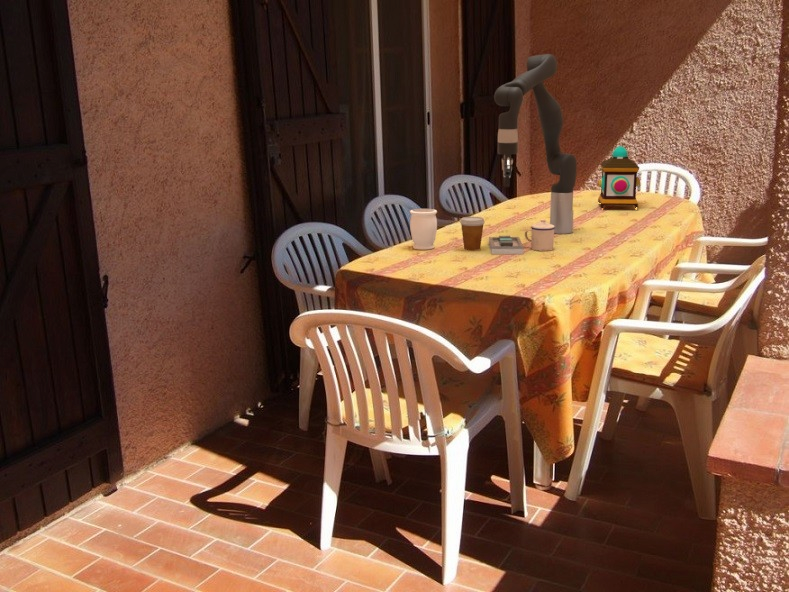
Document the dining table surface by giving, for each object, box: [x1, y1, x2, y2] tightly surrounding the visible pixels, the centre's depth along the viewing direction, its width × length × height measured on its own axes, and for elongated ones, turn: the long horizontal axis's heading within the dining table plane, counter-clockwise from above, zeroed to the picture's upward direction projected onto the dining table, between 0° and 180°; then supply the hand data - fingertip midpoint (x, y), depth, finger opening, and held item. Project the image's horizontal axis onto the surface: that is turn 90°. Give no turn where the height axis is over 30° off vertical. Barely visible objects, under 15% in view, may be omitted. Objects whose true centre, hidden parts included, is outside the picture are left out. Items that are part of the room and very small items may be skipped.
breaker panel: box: [488, 236, 524, 255], centre depth 343 cm, size 12×18×3 cm, turn 177°
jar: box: [409, 208, 438, 251], centre depth 346 cm, size 11×10×15 cm
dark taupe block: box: [501, 241, 513, 246], centre depth 338 cm, size 4×3×2 cm
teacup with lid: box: [524, 218, 555, 252], centre depth 342 cm, size 12×9×12 cm
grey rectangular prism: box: [498, 235, 512, 241], centre depth 347 cm, size 4×3×2 cm
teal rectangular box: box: [500, 238, 512, 244], centre depth 342 cm, size 4×3×2 cm
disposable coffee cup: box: [459, 216, 485, 251], centre depth 343 cm, size 10×10×12 cm
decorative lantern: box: [597, 146, 641, 209], centre depth 428 cm, size 20×20×30 cm
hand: (506, 186), depth 337 cm, fingers closed
